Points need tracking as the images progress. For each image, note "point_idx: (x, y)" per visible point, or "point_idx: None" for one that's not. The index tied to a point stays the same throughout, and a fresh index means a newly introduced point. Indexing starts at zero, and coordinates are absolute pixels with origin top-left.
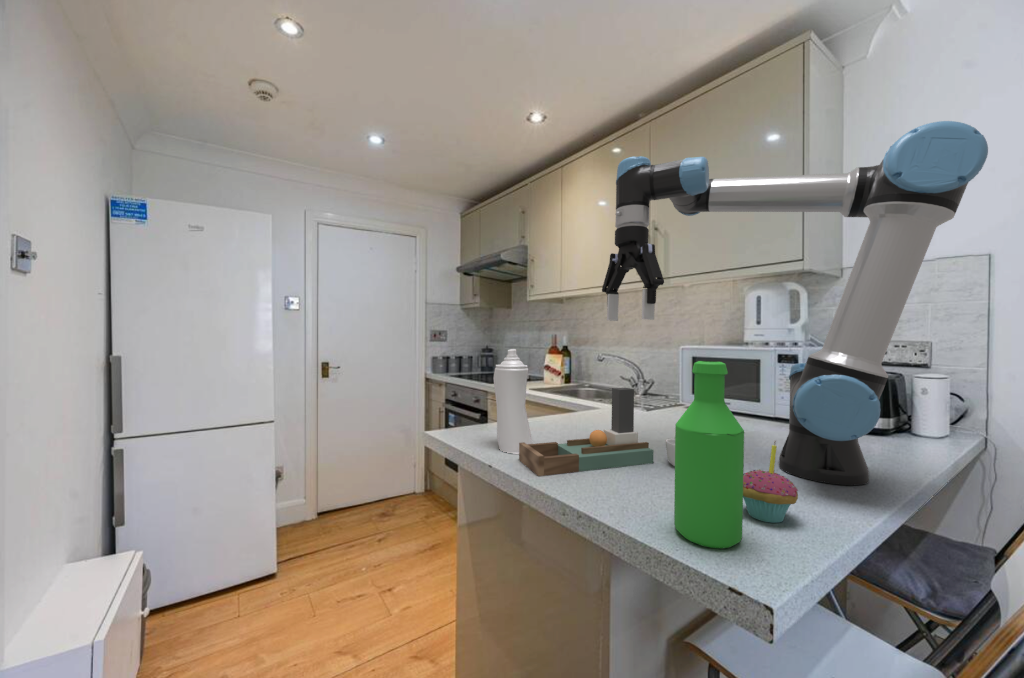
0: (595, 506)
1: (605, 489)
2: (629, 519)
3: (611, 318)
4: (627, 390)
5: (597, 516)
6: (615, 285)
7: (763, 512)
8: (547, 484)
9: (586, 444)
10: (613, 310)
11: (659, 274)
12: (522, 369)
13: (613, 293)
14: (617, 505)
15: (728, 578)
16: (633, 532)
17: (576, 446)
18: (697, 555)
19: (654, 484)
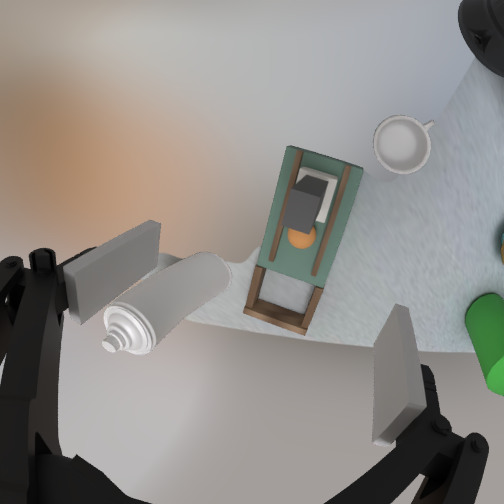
0: None
1: (382, 299)
2: (432, 334)
3: (153, 256)
4: (315, 213)
5: None
6: (54, 335)
7: None
8: (332, 331)
9: (282, 231)
10: (133, 263)
11: (467, 491)
12: (153, 333)
13: (62, 291)
14: (411, 320)
15: None
16: (442, 347)
17: (282, 251)
18: None
19: (411, 244)
